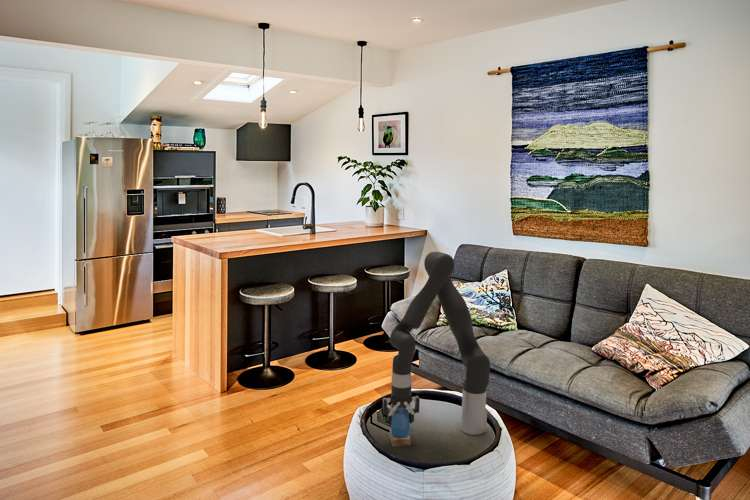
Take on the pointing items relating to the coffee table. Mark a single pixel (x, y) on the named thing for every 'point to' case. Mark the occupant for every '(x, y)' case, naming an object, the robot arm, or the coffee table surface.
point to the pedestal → (399, 440)
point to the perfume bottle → (400, 422)
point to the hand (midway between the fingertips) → (400, 423)
